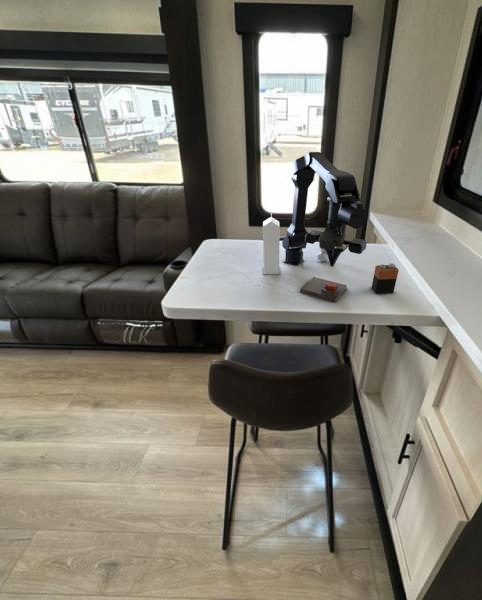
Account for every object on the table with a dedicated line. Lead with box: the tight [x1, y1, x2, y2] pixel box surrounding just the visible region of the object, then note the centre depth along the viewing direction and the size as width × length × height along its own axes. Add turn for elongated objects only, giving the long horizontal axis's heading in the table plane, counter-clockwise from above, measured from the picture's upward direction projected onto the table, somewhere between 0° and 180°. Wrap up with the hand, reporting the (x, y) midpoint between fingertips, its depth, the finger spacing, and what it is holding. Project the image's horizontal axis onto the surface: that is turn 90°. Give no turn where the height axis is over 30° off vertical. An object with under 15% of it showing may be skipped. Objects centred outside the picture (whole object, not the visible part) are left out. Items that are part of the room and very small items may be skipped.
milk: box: [262, 214, 281, 275], centre depth 114 cm, size 6×6×22 cm
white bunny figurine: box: [316, 247, 329, 263], centre depth 129 cm, size 5×7×8 cm
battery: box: [371, 263, 399, 295], centre depth 106 cm, size 4×7×10 cm, turn 99°
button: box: [325, 281, 337, 290], centre depth 102 cm, size 4×4×2 cm
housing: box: [299, 276, 348, 303], centre depth 106 cm, size 13×12×4 cm
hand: (332, 266), depth 100 cm, fingers closed
